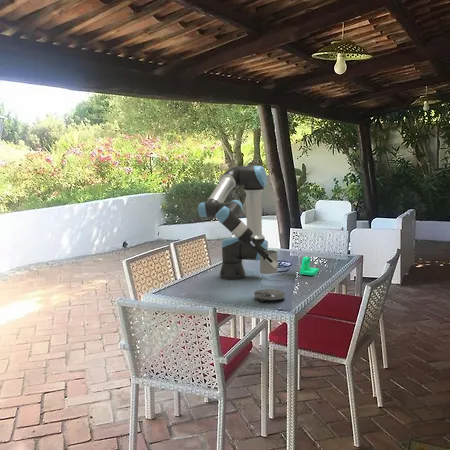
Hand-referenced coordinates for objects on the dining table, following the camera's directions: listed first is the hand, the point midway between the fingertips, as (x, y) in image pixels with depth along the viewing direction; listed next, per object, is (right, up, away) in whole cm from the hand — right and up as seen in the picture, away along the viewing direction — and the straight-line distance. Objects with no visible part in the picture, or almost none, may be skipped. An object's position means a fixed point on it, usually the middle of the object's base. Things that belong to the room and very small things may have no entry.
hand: (275, 264), depth 241 cm
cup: (-3, -4, +1) cm, 5 cm away
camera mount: (+26, -10, +52) cm, 59 cm away
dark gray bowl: (-3, -18, +2) cm, 18 cm away
